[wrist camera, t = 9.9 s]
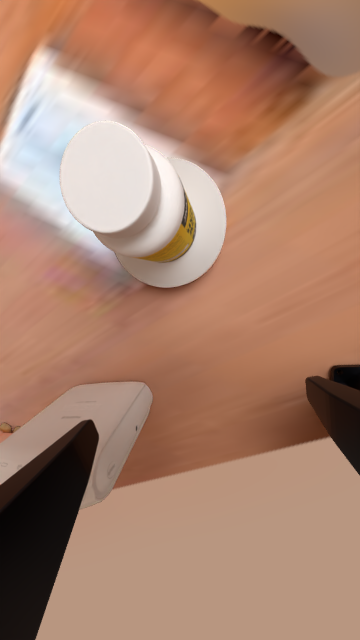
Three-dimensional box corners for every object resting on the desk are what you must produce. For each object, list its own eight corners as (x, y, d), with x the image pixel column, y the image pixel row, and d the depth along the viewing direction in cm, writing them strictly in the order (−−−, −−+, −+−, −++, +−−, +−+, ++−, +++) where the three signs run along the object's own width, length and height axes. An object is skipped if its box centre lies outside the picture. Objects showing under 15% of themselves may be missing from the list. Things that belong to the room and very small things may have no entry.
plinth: (221, 160, 18) (221, 143, 16) (229, 280, 20) (230, 281, 18) (113, 183, 20) (98, 172, 18) (130, 290, 22) (118, 292, 20)
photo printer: (150, 377, 24) (81, 480, 12) (157, 411, 25) (98, 539, 13) (71, 381, 26) (-54, 472, 14) (79, 412, 27) (-33, 524, 15)
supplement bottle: (208, 244, 17) (194, 211, 8) (151, 273, 19) (82, 275, 9) (180, 179, 17) (128, 60, 7) (123, 214, 18) (18, 152, 9)
